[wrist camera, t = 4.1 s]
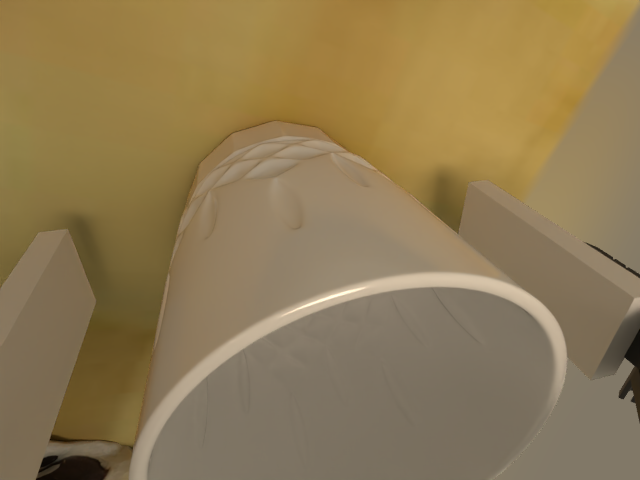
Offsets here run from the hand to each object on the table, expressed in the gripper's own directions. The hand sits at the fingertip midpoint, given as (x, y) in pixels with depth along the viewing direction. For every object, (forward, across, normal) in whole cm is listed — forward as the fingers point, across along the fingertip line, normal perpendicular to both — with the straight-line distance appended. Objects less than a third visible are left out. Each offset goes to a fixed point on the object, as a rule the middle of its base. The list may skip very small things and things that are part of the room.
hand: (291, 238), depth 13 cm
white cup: (+2, 0, 0) cm, 2 cm away
